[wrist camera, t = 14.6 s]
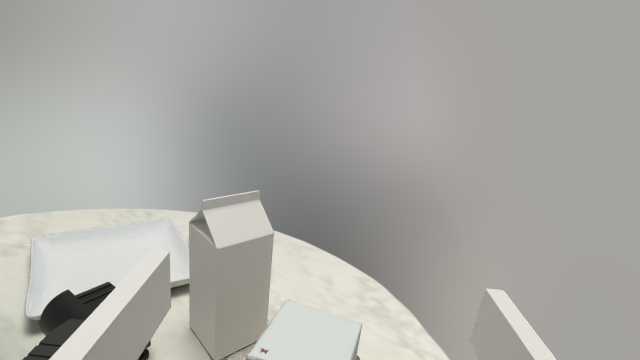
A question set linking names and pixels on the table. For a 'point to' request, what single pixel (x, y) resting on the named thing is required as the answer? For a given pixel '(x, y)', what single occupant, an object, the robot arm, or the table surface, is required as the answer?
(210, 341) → the milk carton
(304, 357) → the supplement box
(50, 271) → the salad plate
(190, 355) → the table surface
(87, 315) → the end cap
